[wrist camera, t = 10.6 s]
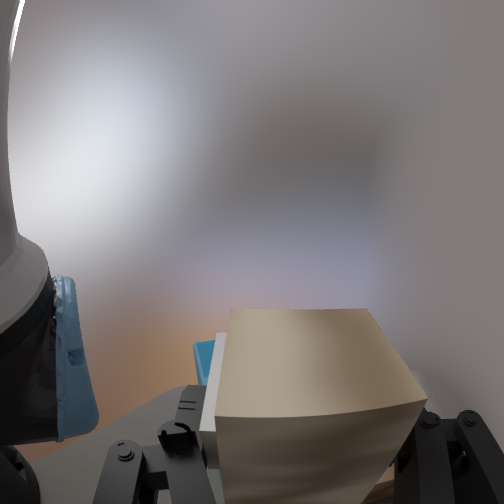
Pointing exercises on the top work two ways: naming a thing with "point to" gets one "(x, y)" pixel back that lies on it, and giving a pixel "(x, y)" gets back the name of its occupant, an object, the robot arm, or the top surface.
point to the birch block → (310, 406)
